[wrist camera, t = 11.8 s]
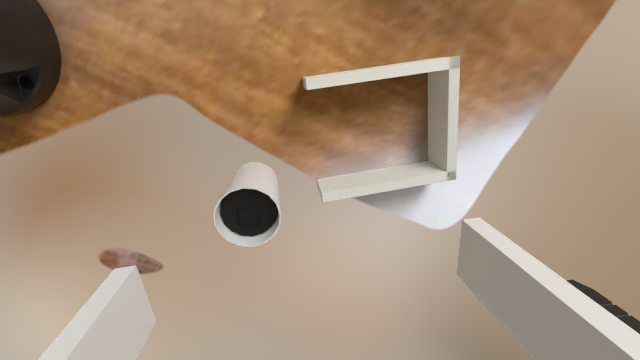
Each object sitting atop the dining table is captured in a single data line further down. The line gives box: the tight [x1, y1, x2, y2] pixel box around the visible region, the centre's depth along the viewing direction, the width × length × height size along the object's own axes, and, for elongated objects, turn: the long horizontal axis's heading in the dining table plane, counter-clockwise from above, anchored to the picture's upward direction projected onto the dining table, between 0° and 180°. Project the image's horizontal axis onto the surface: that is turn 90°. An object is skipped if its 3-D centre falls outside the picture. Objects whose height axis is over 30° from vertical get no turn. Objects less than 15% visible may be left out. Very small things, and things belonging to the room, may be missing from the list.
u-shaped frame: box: [302, 56, 460, 202], centre depth 36 cm, size 14×17×5 cm
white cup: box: [213, 162, 281, 247], centre depth 34 cm, size 7×7×10 cm
